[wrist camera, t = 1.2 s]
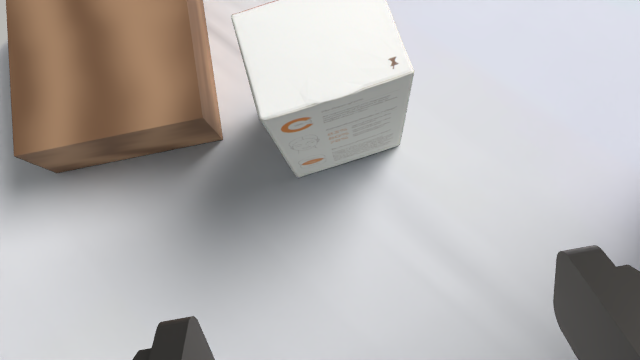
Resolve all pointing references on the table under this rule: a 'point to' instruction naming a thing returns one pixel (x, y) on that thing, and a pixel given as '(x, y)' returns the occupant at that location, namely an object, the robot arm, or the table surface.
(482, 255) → the table surface
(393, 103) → the small box
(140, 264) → the table surface
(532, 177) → the table surface
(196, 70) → the podium
